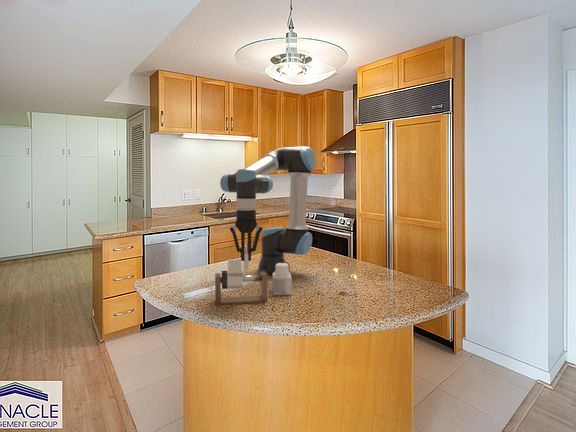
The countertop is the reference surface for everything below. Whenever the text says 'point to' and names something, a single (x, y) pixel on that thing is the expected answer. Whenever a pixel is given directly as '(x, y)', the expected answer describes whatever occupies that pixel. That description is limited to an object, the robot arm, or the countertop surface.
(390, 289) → the countertop surface
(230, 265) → the stepped block with cap
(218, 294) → the rod stand
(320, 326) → the countertop surface
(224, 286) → the dark grey block
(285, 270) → the container
